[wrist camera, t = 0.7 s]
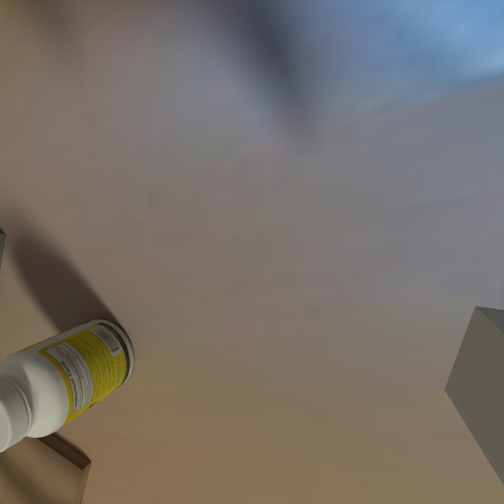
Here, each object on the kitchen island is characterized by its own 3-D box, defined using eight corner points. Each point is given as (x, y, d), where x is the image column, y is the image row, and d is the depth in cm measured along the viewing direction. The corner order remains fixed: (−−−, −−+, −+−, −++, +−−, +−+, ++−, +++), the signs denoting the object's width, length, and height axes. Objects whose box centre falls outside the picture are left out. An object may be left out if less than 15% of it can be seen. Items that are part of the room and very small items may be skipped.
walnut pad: (5, 402, 37) (-6, 408, 36) (91, 462, 34) (81, 470, 33) (-10, 488, 39) (-20, 495, 38) (68, 550, 36) (59, 560, 36)
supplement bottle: (82, 380, 33) (-46, 453, 24) (77, 314, 32) (-57, 364, 23) (138, 392, 31) (23, 477, 22) (135, 322, 30) (13, 380, 21)
